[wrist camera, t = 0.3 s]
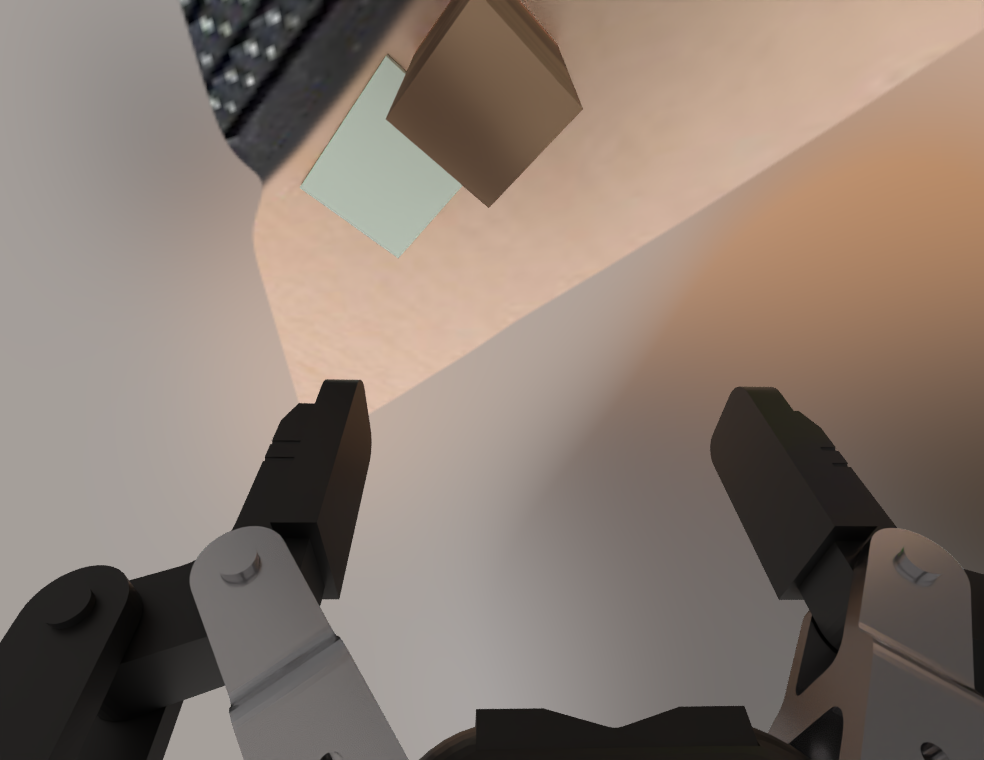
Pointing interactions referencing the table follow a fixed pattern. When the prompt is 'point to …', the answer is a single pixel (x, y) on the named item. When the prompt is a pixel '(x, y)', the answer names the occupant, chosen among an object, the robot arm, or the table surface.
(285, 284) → the table surface
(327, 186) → the sage pad
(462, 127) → the walnut block
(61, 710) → the robot arm
